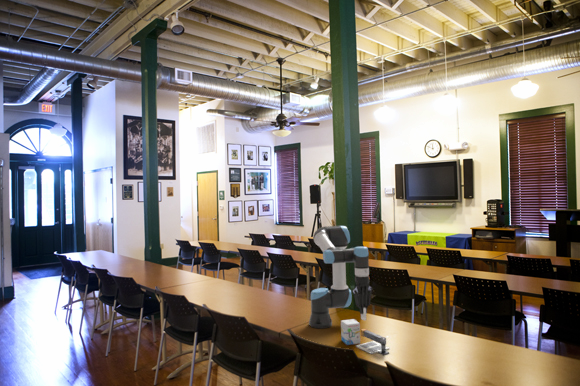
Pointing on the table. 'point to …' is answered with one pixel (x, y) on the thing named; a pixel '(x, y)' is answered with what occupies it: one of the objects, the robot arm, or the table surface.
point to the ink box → (350, 331)
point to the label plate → (370, 347)
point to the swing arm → (373, 336)
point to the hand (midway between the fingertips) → (363, 319)
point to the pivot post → (383, 350)
